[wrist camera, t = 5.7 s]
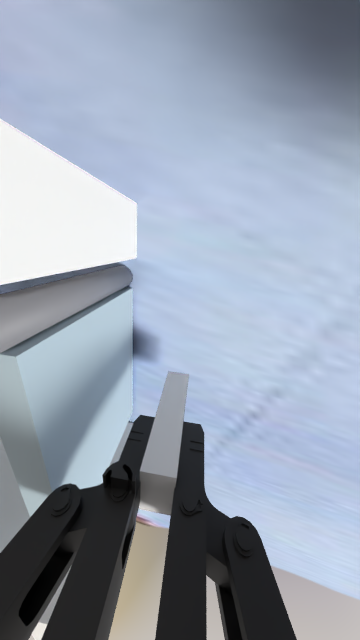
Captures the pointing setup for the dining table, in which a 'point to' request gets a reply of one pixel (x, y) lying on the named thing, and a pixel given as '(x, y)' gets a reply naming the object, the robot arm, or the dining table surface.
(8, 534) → the skincare box
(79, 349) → the door
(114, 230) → the wall
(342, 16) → the dining table surface
